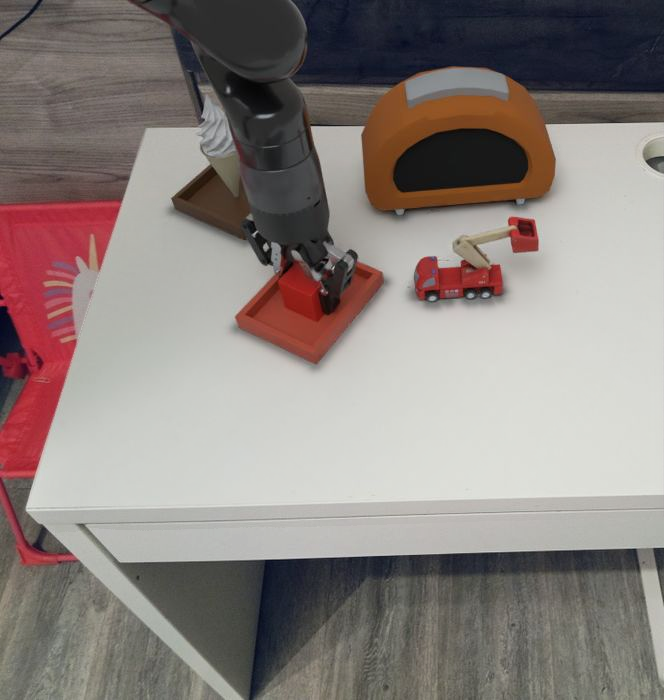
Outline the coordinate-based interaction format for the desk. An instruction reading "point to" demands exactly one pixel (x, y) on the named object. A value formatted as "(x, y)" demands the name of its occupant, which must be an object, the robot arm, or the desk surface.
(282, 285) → the red block
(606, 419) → the desk surface
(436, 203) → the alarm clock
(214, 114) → the ice cream cone
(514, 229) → the toy fire truck
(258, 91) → the robot arm
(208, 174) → the brown tray
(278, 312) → the red tray
